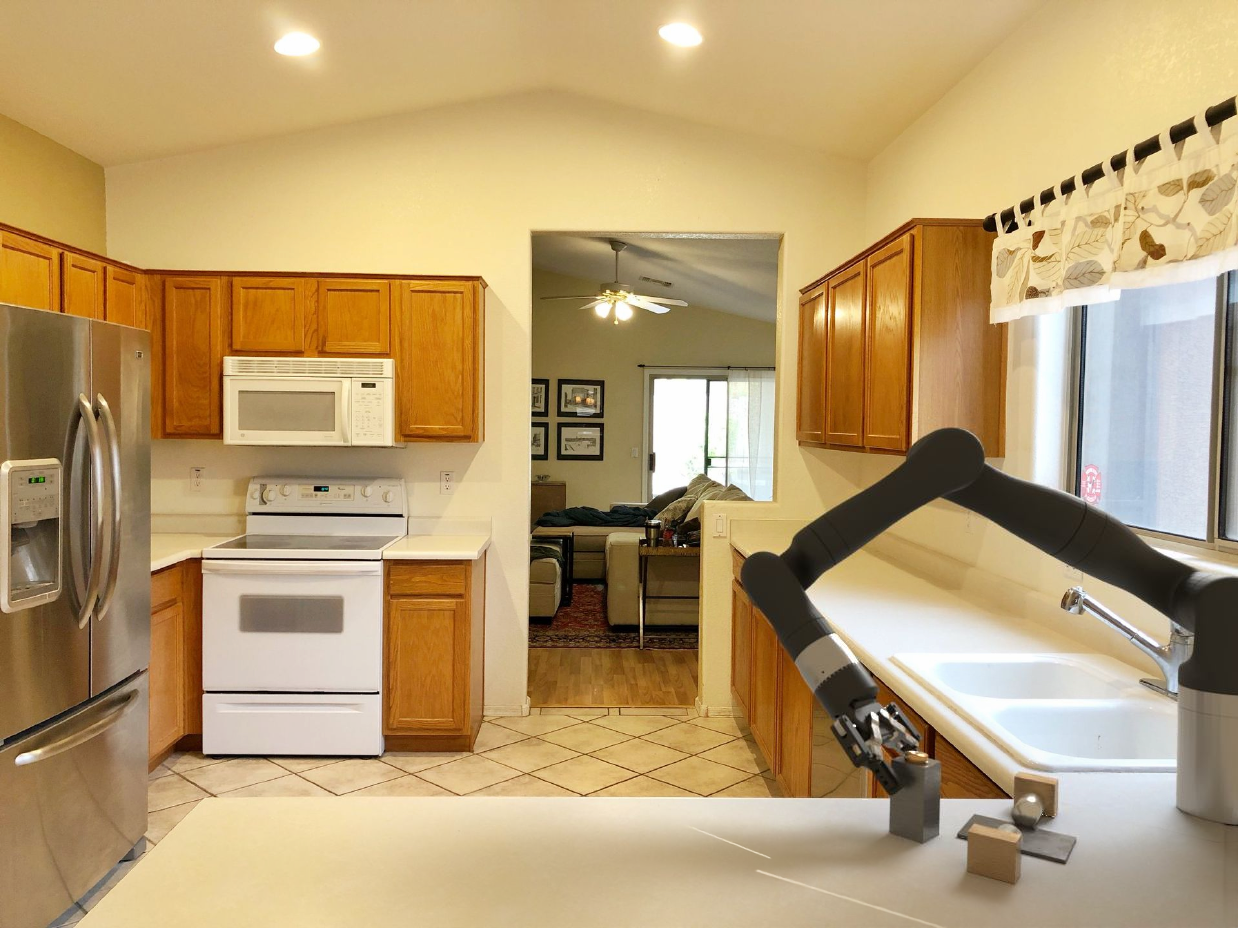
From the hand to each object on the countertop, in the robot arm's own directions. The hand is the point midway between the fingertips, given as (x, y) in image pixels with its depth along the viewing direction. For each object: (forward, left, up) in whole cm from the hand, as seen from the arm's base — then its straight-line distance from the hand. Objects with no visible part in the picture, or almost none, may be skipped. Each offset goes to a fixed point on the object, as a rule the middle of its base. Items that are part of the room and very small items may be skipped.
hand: (914, 784), depth 108 cm
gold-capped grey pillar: (0, 0, -6) cm, 6 cm away
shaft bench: (-7, +11, -6) cm, 14 cm away
